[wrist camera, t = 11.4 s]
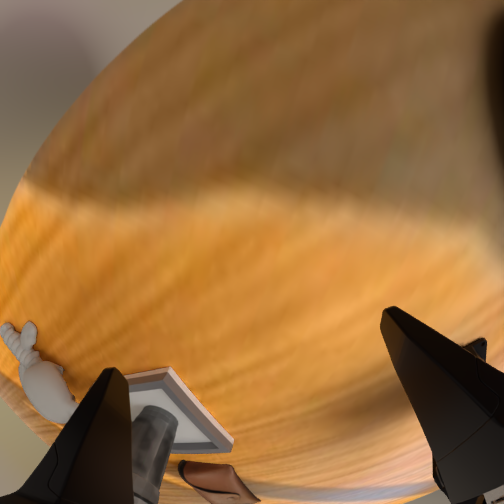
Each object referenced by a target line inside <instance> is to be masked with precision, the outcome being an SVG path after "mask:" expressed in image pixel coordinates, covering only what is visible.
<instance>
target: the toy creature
mask: <svg viewBox="0 0 504 504" xmlns="http://www.w3.org/2000/svg"><path fill="white" fill-rule="evenodd" d="M0 335H1V337H2V338H3V341H4V343H5V344H6V345H7V346H8V348H9V349H10V350H11V351H12V353H13V354H14V355H15V356H16V358H17V360H19V361H20V365H19V377H20V381H21V384H22V387H23V389H24V391H25V393H26V395H27V397H28V398H29V400H30V402H31V403H32V404H33V406H34V407H35V408H36V410H37V411H38V412H39V413H40V414H41V415H42V416H43V417H44V418H46V419H47V420H49V421H52V422H56V423H67V422H68V420H69V419H70V417H71V416H72V414H73V413H74V411H75V410H76V408H77V407H78V405H79V403H77V402H75V396H74V395H73V394H72V393H71V392H70V391H69V389H68V387H67V385H66V382H65V381H64V378H63V377H62V375H63V374H62V373H63V371H62V370H64V369H63V368H62V366H59V365H57V364H54V363H52V362H49V361H42V359H41V358H40V355H39V351H35V350H34V349H32V347H33V345H34V344H35V343H36V335H37V329H36V326H35V325H34V324H33V323H32V322H30V321H28V322H27V323H26V324H25V325H24V327H23V329H22V331H21V334H20V333H18V332H16V331H15V330H14V326H13V325H11V324H10V323H4V324H3V325H2V326H1V328H0ZM61 369H62V370H61ZM61 372H62V373H61ZM61 374H62V375H61Z"/></svg>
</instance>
